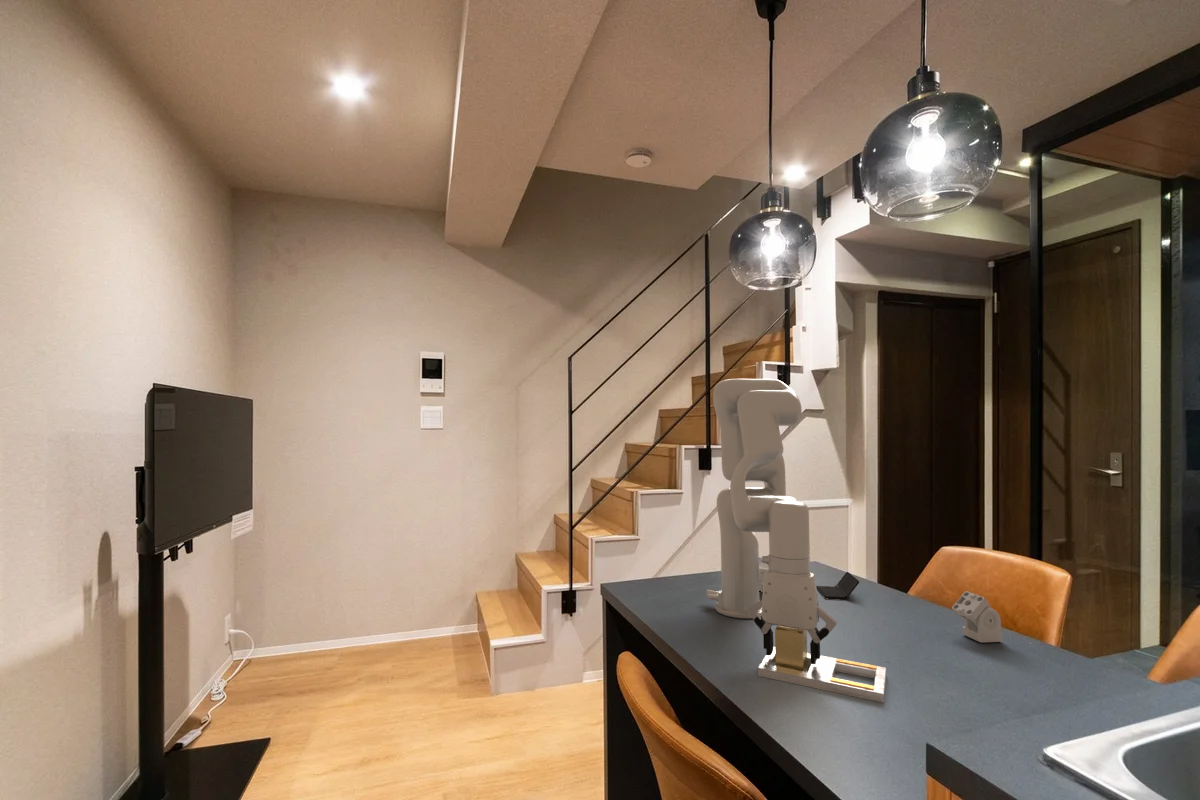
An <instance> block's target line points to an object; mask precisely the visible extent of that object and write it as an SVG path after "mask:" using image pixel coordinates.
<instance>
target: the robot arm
mask: <svg viewBox="0 0 1200 800" xmlns="http://www.w3.org/2000/svg"><path fill="white" fill-rule="evenodd" d="M712 399H713V407H714V411H715V414H716V417H717V420H718V425H719V427H720V441H721V442H720V446H721V447H720V448H721V453H720V454H721V470H722V474H723V477H724V479H726V480H727V481H729V482H730V484H729V485H730V486H729V487H727V488H725V489H722V490H721V491H720V492H719V493H718V495H717V497H716V509H717V516H718V521H719V531H720V532H719V534H720V565H721V566H720V572H721V573H720V574H721V576H720V579H721V581H720V582H721V584H720V585H721V590H720V589H719V590H718V591H716V590H712V589H706V594H705V595H706V597H707V600H711V601H713V600H714V601H716V604H715V610H716V612H717V613H718V614H721V615H724V616H726V617H730V618H734V619H735V618H736V619H753V622H754V623H755V624H756V626H757V627H758V629H760V631H761V633H762V634H763V636H762V637H763V649H764V650H765V656H766V655H768V656H770V655H771V654H772V652H773V647H774V631H773V630H772V626H776V627H777V626H783V627H789V628H795V629H801V630H807V633H808V634H809V635H810V638H811V640H810V643H809V647H810V656H811V663H812V664H814V665H815V663H816V661H817V659H820V655H821V642H822V640H823V639H825V638H826V637H827V636H828V635H830V633H831V632H832V630H834V628H835V627H836V626H837V620H836V619H835V618H834V617H832V616H831V615H830V614H829V613H827V612H826V611H825V610H824V609H823V608H822V607H821V606H819V599H818V590H817V588H816V586H817V583H816V578H815V574H814V573H813V572H811V555H810V554H811V551H810V549H811V548H810V511H809V507H808V506H807V504H806V503H805V502H802V501H799V500H798V499H797V498H796V497H793V496H789V495H787V491H786V489H787V487H786V485H787V484H786V466H785V465H786V463H785V460H784V455H783V454H784V445H783V441H782V440H783V439H782V435H781V430H780V426H781V427H783V426H784V427H790V426H791V427H792V426H796V425H797V424H799V422H800V420H801V418H802V411H803V410H802V405H801V404H802V403H801V401H800V398H799V396H798V395H797V393H796V392H795V391H794V389H792V388H791V387H790V386H788V385H787V384H786V383H784V382H783V381H781V380H779V379H774V378H729V379H724V380H721V381H719V382H718V383H716V385H715V386H714V388H713V394H712ZM746 483H763V484H764V487H751V486H746ZM754 533H768V542H769V543H768V546H769V547H768V549H769V553H768V555H766V556H764V555H762V556H761V557H762V563H766V564H768V566H769V569H767V570H766V571H765V575H764V582H763V593H762V597H761V600H760V592H759V557H760V551H759V550H760V549H759V541H758V539H757V537H756V536H755V534H754ZM820 619H822V621H824V623H825V625H824V626H823V627H821V629H820V630H819V628H818V623H819V621H820Z"/></svg>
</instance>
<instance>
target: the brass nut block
mask: <svg viewBox="0 0 1200 800" xmlns="http://www.w3.org/2000/svg"><path fill="white" fill-rule="evenodd" d="M774 644H775V645H774V647H775V657H776V662H775V666H779V667H784V668H789V669H794V670H799V671H804V672H807V670H808V667H809V666H808V665H807V653H808V631H807V630H801V629H795V628H789V627H783V626H777V625H776V626H775V629H774Z"/></svg>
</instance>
